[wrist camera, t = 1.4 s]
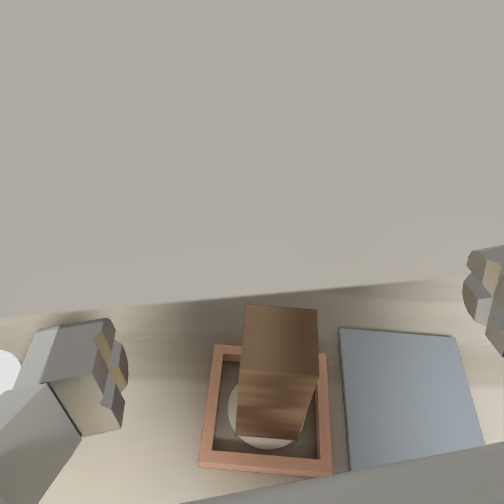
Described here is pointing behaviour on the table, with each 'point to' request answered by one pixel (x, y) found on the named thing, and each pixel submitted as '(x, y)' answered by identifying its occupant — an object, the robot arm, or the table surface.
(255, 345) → the walnut block
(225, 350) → the terracotta frame
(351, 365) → the rubber mat
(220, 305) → the table surface
